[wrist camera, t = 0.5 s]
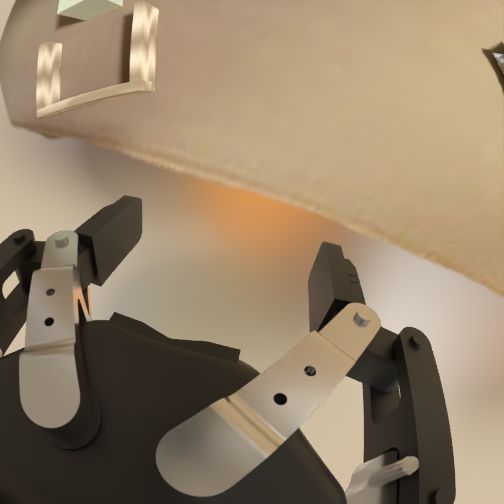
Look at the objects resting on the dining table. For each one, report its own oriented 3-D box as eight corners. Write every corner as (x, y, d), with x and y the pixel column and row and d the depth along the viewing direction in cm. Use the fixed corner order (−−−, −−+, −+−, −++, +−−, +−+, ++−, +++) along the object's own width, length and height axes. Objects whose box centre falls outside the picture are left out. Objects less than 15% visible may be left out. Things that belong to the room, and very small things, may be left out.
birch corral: (57, 46, 27) (39, 44, 23) (158, 9, 26) (144, 0, 21) (55, 114, 35) (37, 118, 30) (154, 91, 33) (138, 90, 29)
